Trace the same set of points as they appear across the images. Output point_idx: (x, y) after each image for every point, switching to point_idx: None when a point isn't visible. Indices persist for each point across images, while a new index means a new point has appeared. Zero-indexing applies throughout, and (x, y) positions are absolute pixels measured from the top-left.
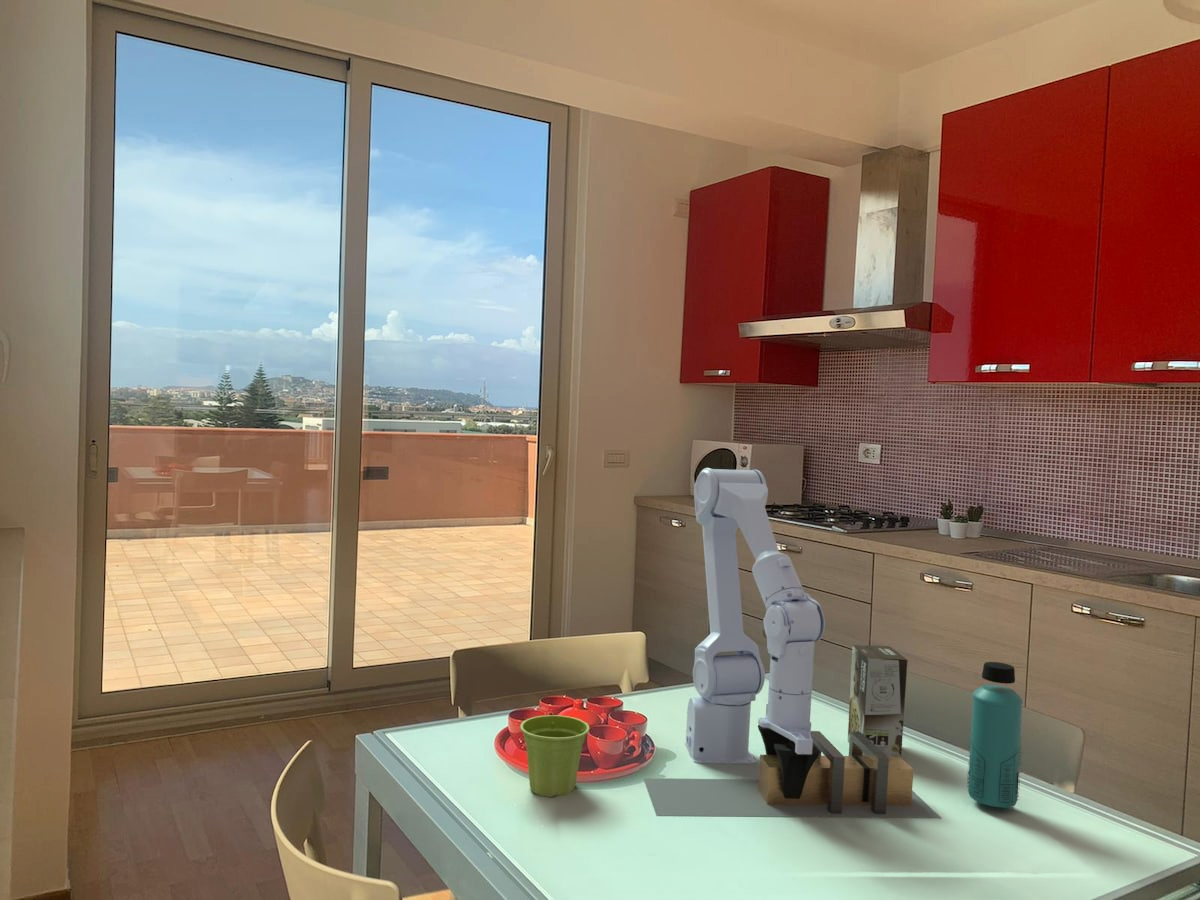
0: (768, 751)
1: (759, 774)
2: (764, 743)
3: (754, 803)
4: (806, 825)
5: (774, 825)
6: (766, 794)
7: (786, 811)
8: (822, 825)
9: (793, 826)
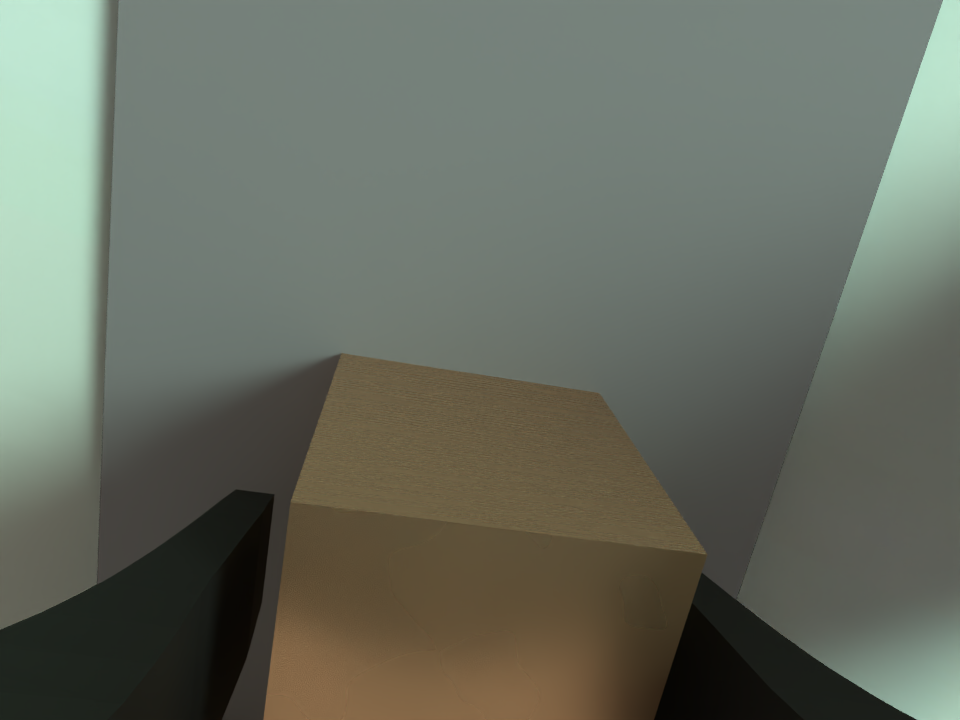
0: (743, 677)
1: (620, 448)
2: (875, 713)
3: (369, 258)
4: (23, 495)
5: (18, 263)
6: (367, 380)
7: (201, 443)
8: (25, 595)
9: (3, 399)
